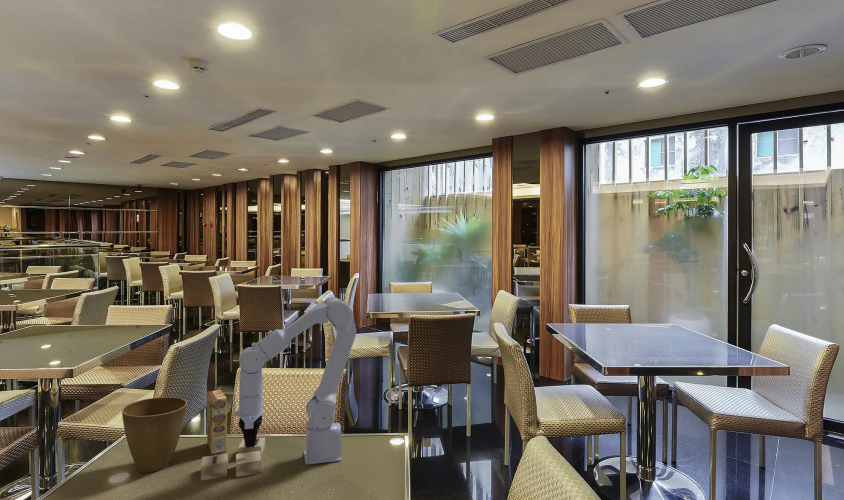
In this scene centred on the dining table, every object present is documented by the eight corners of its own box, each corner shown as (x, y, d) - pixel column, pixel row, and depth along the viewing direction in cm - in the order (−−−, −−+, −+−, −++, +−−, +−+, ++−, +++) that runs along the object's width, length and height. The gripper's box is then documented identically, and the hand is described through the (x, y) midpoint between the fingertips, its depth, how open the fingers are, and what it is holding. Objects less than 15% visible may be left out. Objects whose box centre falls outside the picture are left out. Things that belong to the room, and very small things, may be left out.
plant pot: (114, 484, 113) (115, 418, 113) (127, 458, 127) (128, 399, 127) (183, 474, 119) (184, 411, 119) (188, 450, 133) (189, 394, 132)
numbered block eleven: (264, 449, 134) (265, 437, 134) (261, 459, 128) (261, 445, 128) (243, 450, 133) (243, 438, 133) (238, 460, 127) (238, 447, 127)
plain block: (259, 463, 126) (260, 450, 126) (261, 473, 120) (261, 460, 120) (235, 467, 124) (236, 454, 123) (235, 477, 118) (236, 464, 118)
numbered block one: (227, 466, 124) (227, 453, 124) (227, 477, 118) (227, 463, 118) (202, 470, 122) (202, 456, 122) (200, 481, 116) (201, 466, 116)
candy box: (227, 451, 132) (228, 397, 132) (211, 455, 130) (211, 400, 130) (221, 440, 140) (221, 389, 139) (205, 443, 137) (206, 391, 137)
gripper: (236, 387, 128) (236, 436, 128) (231, 404, 114) (231, 460, 114) (264, 385, 130) (263, 434, 130) (262, 402, 116) (261, 456, 116)
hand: (250, 446), depth 122 cm, fingers closed
